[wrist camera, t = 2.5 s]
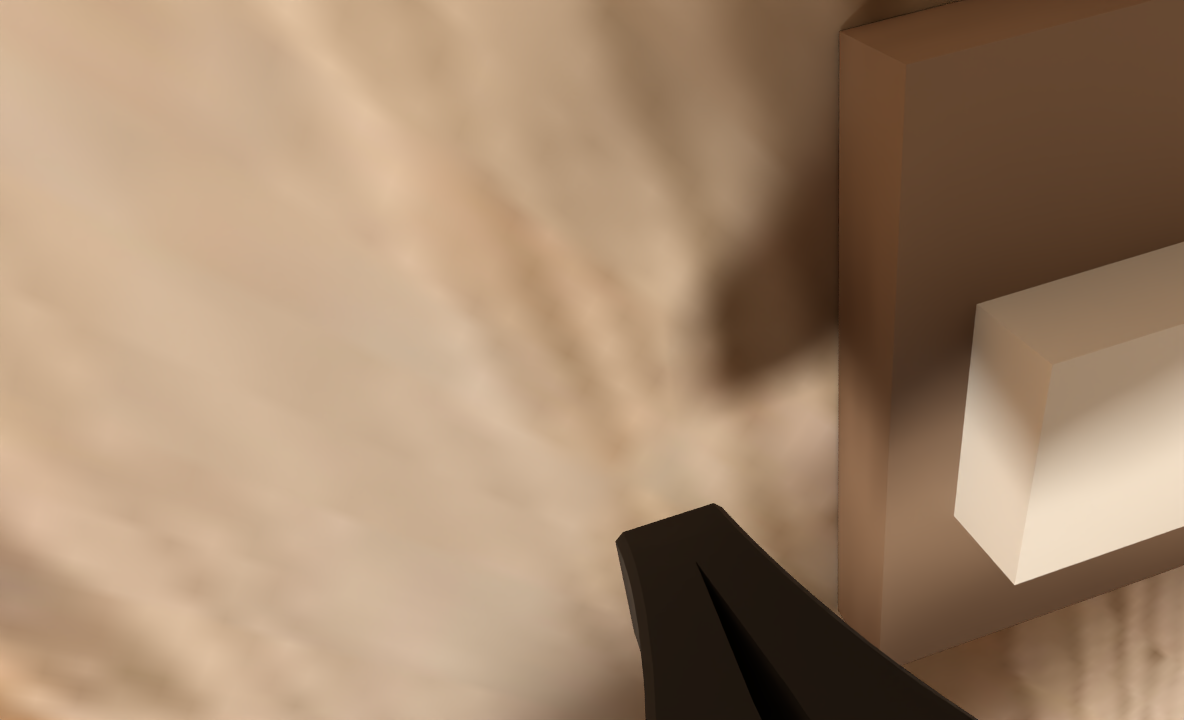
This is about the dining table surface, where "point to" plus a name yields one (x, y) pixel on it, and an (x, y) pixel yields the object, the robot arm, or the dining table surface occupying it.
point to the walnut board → (980, 271)
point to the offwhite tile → (1076, 416)
